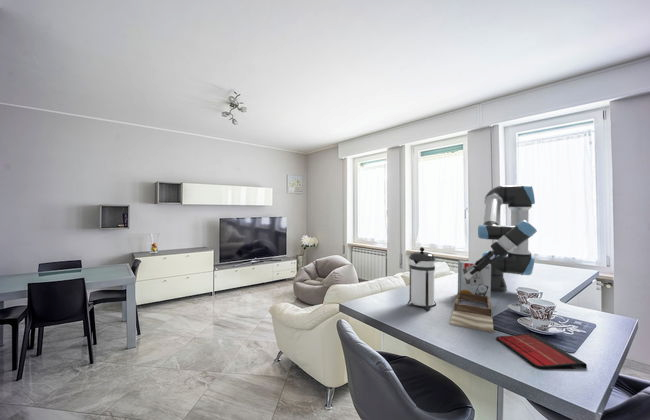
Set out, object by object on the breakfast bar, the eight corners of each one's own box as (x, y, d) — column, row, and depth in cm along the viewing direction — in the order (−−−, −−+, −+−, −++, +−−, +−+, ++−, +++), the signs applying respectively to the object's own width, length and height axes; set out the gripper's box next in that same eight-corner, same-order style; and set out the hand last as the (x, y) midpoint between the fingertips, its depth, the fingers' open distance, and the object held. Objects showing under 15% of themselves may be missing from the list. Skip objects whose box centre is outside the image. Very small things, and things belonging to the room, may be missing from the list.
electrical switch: (472, 286, 134) (470, 267, 135) (462, 284, 139) (461, 266, 140) (484, 284, 138) (482, 265, 139) (475, 282, 143) (473, 264, 144)
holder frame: (457, 298, 152) (457, 292, 152) (489, 303, 144) (489, 296, 144) (454, 310, 133) (454, 303, 133) (491, 317, 126) (491, 309, 126)
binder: (533, 332, 106) (587, 363, 85) (533, 338, 106) (587, 370, 85) (493, 334, 105) (537, 366, 84) (493, 340, 105) (537, 373, 84)
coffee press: (444, 311, 133) (444, 249, 133) (411, 310, 133) (411, 249, 133) (431, 299, 150) (431, 245, 150) (402, 299, 150) (402, 244, 150)
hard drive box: (459, 298, 153) (459, 262, 153) (457, 294, 160) (457, 260, 160) (491, 300, 148) (491, 264, 148) (487, 296, 156) (487, 261, 156)
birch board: (453, 312, 131) (453, 310, 131) (492, 318, 123) (492, 316, 123) (450, 324, 118) (450, 321, 118) (493, 332, 110) (493, 330, 110)
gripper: (511, 255, 122) (471, 286, 130) (507, 249, 140) (472, 276, 148) (497, 243, 124) (458, 274, 132) (495, 238, 143) (461, 266, 151)
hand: (466, 275), depth 140 cm, fingers closed on electrical switch, 9 cm apart
